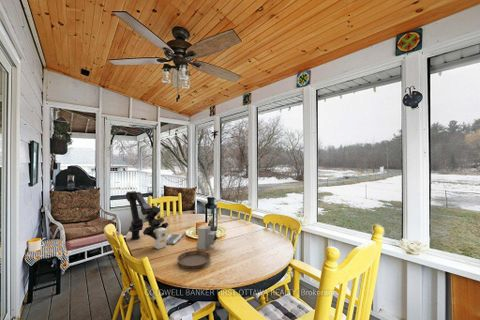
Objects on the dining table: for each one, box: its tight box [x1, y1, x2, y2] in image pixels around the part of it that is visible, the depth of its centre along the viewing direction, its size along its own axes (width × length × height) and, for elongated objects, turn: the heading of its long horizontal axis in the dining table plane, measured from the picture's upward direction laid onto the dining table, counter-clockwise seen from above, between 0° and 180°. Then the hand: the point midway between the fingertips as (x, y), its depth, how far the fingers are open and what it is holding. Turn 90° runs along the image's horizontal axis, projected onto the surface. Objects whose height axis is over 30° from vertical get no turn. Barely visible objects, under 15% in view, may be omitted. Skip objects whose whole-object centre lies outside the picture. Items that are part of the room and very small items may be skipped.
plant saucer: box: [176, 250, 211, 269], centre depth 136 cm, size 21×21×3 cm
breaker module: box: [153, 228, 168, 250], centre depth 160 cm, size 7×6×13 cm
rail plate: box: [166, 232, 185, 246], centre depth 175 cm, size 12×20×2 cm, turn 175°
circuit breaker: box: [196, 225, 218, 251], centre depth 160 cm, size 8×14×15 cm, turn 78°
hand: (161, 237), depth 159 cm, fingers closed on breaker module, 7 cm apart
